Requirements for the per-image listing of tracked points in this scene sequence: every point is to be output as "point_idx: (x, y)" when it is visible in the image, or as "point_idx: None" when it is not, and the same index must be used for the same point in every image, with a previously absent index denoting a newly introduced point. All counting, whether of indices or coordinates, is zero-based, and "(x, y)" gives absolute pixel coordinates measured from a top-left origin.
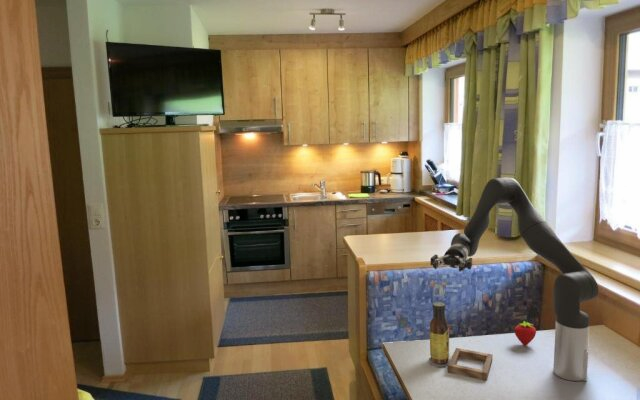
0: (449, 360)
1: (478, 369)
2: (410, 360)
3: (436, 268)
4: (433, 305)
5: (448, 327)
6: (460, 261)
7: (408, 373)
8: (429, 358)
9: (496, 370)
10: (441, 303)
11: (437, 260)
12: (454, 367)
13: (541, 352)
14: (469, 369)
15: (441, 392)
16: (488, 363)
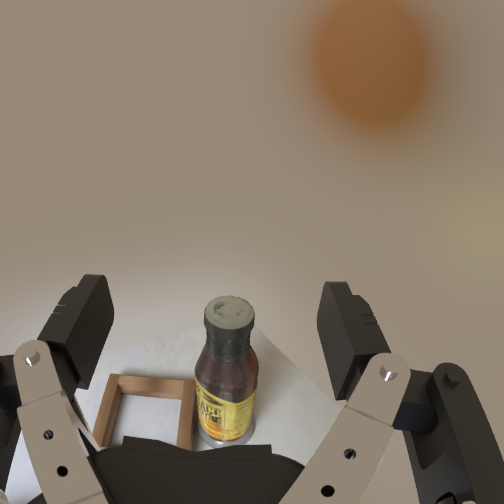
0: (200, 432)
1: (126, 382)
2: (296, 409)
3: (319, 333)
4: (247, 302)
5: (195, 367)
6: (59, 383)
7: (277, 363)
8: (253, 425)
9: (89, 425)
10: (220, 317)
11: (364, 350)
12: (180, 381)
13: None
14: (146, 378)
15: (199, 331)
16: (101, 410)
